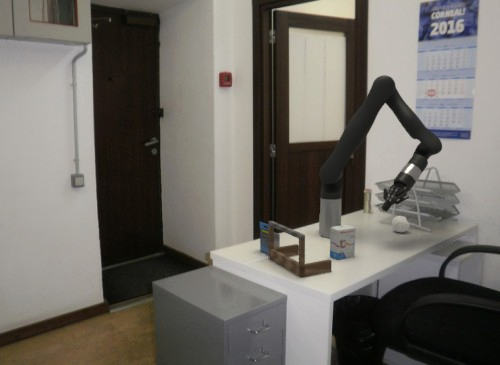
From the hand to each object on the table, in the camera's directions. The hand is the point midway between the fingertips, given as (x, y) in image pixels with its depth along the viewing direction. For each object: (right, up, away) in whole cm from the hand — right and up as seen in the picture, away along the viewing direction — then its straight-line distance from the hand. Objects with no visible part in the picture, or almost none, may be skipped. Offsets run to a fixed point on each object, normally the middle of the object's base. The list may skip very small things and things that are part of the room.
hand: (383, 210), depth 183 cm
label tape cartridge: (-45, -17, 0) cm, 49 cm away
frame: (-35, -19, -15) cm, 42 cm away
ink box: (-18, -18, -6) cm, 26 cm away
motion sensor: (+16, -12, +27) cm, 34 cm away
